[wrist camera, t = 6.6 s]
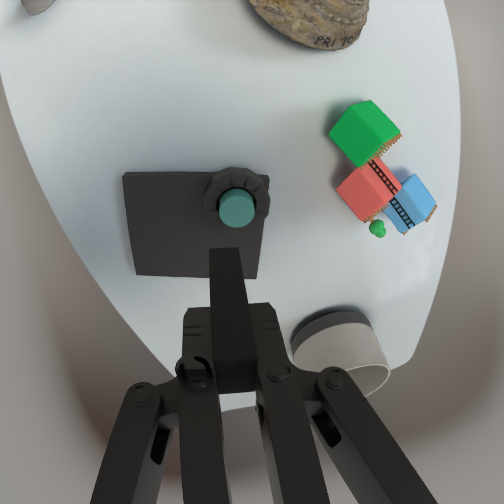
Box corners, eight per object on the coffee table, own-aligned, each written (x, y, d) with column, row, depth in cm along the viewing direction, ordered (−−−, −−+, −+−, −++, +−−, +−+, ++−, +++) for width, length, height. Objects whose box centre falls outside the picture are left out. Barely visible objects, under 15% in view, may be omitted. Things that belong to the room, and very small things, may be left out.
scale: (138, 268, 31) (132, 285, 29) (125, 163, 24) (114, 173, 21) (255, 272, 33) (257, 289, 30) (269, 166, 26) (274, 176, 23)
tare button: (218, 217, 25) (218, 227, 24) (220, 187, 24) (219, 195, 22) (251, 218, 26) (252, 228, 24) (254, 189, 24) (256, 197, 23)
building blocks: (349, 138, 29) (414, 219, 28) (306, 160, 25) (384, 258, 24) (387, 93, 22) (464, 188, 20) (347, 105, 18) (445, 227, 17)
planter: (327, 361, 47) (341, 410, 38) (272, 344, 42) (282, 404, 33) (380, 319, 41) (405, 370, 32) (331, 292, 36) (356, 356, 27)
